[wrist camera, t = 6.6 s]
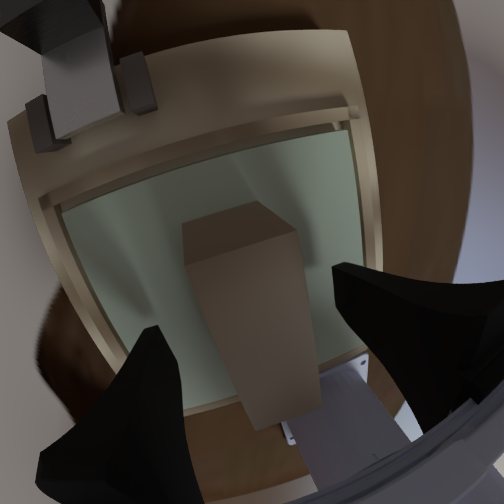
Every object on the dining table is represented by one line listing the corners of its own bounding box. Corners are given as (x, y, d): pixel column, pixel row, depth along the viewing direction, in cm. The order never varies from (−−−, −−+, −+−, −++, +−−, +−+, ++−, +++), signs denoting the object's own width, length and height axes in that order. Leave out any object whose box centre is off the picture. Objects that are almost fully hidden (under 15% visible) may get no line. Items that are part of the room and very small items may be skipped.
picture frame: (365, 318, 19) (397, 350, 15) (148, 393, 17) (148, 440, 13) (327, 41, 12) (370, 18, 8) (26, 122, 10) (-17, 120, 6)
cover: (356, 334, 17) (401, 386, 12) (170, 400, 15) (176, 470, 10) (335, 129, 12) (414, 131, 7) (69, 208, 10) (11, 250, 6)
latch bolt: (125, 114, 8) (91, 94, 5) (66, 139, 8) (6, 140, 4) (104, 5, 6) (76, -51, 3) (48, 30, 6) (0, -9, 2)
